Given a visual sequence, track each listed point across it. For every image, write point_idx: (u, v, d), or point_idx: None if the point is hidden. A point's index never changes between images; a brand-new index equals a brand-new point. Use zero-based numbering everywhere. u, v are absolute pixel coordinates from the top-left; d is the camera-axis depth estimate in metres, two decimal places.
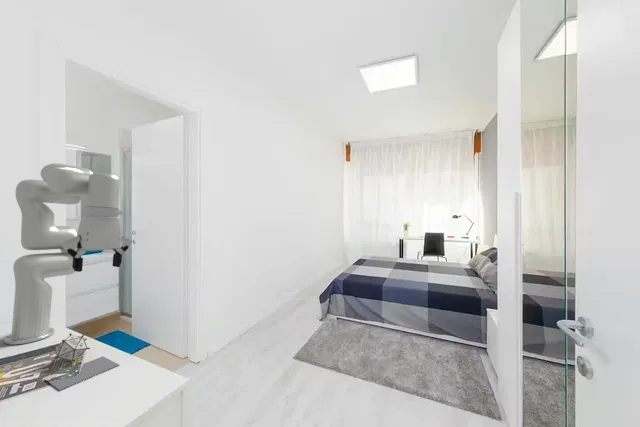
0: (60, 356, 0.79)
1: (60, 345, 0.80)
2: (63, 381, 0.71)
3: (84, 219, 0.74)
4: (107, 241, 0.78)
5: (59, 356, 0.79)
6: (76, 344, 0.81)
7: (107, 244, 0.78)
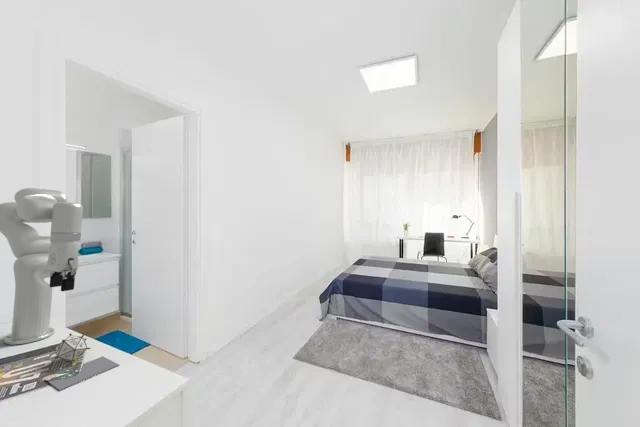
0: (60, 356, 0.79)
1: (60, 345, 0.80)
2: (63, 381, 0.71)
3: (73, 244, 0.87)
4: None
5: (59, 356, 0.79)
6: (76, 344, 0.81)
7: None
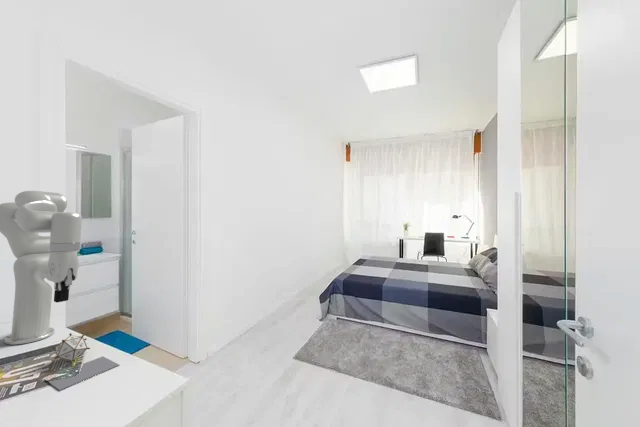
0: (60, 356, 0.79)
1: (60, 345, 0.80)
2: (63, 381, 0.71)
3: (73, 254, 0.86)
4: None
5: (59, 356, 0.79)
6: (75, 344, 0.81)
7: None
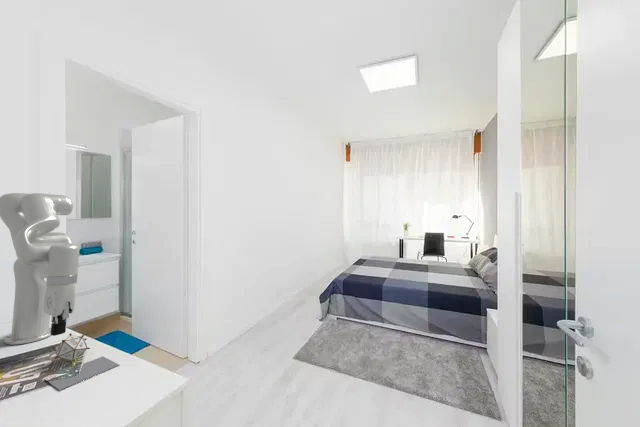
0: (60, 356, 0.79)
1: (60, 345, 0.80)
2: (63, 381, 0.71)
3: (70, 287, 0.86)
4: None
5: (59, 356, 0.79)
6: (75, 344, 0.81)
7: None
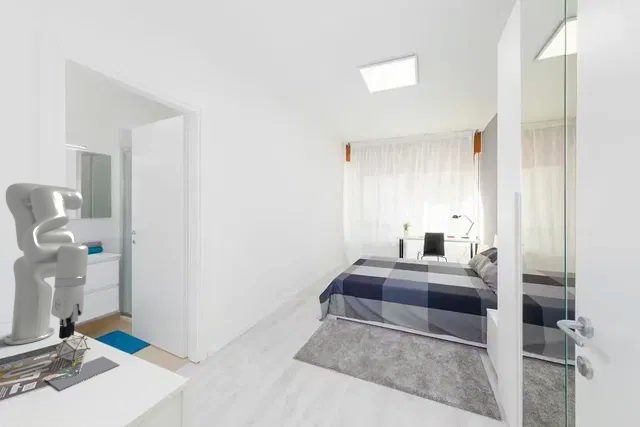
0: (60, 356, 0.79)
1: (61, 345, 0.80)
2: (63, 381, 0.71)
3: (79, 289, 0.84)
4: None
5: (59, 356, 0.78)
6: (76, 344, 0.81)
7: None
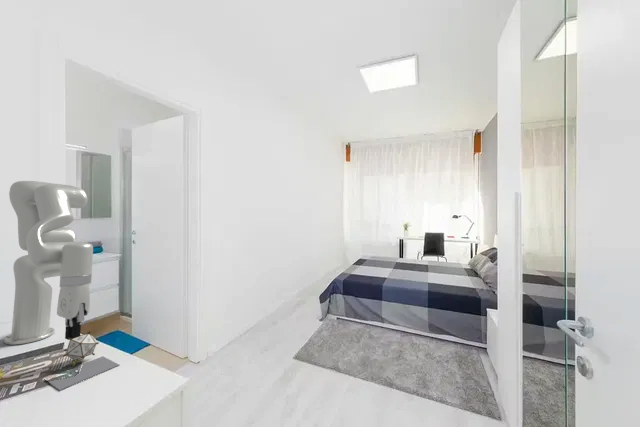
0: (68, 355, 0.79)
1: (75, 344, 0.80)
2: (63, 381, 0.71)
3: (85, 287, 0.82)
4: None
5: (68, 354, 0.78)
6: (87, 350, 0.81)
7: None
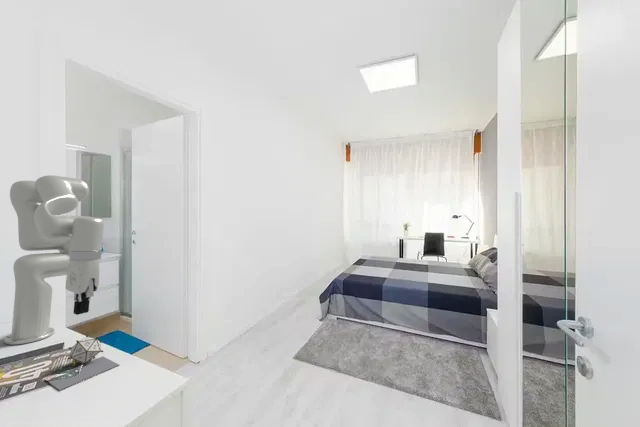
0: (72, 358, 0.78)
1: (82, 350, 0.79)
2: (63, 381, 0.71)
3: (95, 263, 0.80)
4: None
5: (72, 358, 0.78)
6: (90, 357, 0.80)
7: None
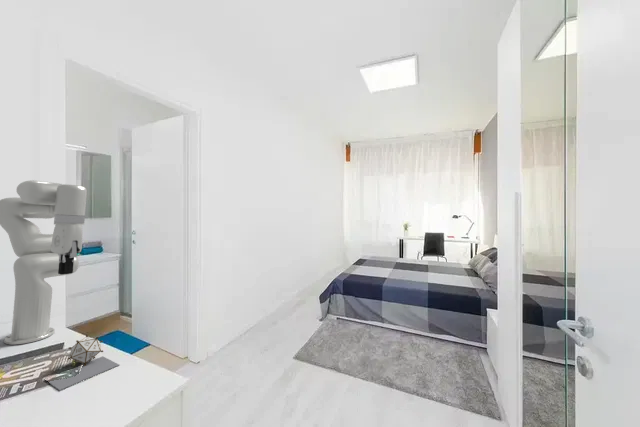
0: (72, 358, 0.78)
1: (82, 350, 0.79)
2: (63, 381, 0.71)
3: (78, 226, 0.86)
4: None
5: (72, 358, 0.78)
6: (90, 357, 0.80)
7: None
